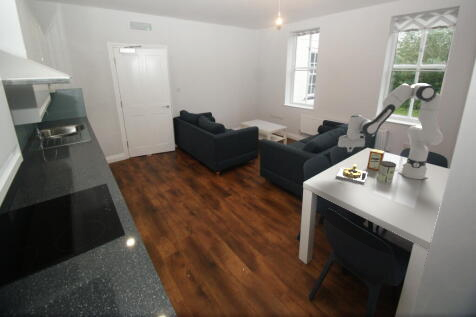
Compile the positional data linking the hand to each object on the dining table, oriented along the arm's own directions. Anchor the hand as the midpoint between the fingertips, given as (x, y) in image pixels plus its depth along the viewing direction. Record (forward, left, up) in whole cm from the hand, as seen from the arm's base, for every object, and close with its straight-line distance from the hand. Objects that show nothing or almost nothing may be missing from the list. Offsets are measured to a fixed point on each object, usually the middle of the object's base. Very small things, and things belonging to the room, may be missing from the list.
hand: (349, 151), depth 187 cm
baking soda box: (-19, +18, -18) cm, 32 cm away
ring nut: (+5, +5, -15) cm, 17 cm away
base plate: (+7, +5, -18) cm, 20 cm away
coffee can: (+2, +27, -18) cm, 33 cm away
